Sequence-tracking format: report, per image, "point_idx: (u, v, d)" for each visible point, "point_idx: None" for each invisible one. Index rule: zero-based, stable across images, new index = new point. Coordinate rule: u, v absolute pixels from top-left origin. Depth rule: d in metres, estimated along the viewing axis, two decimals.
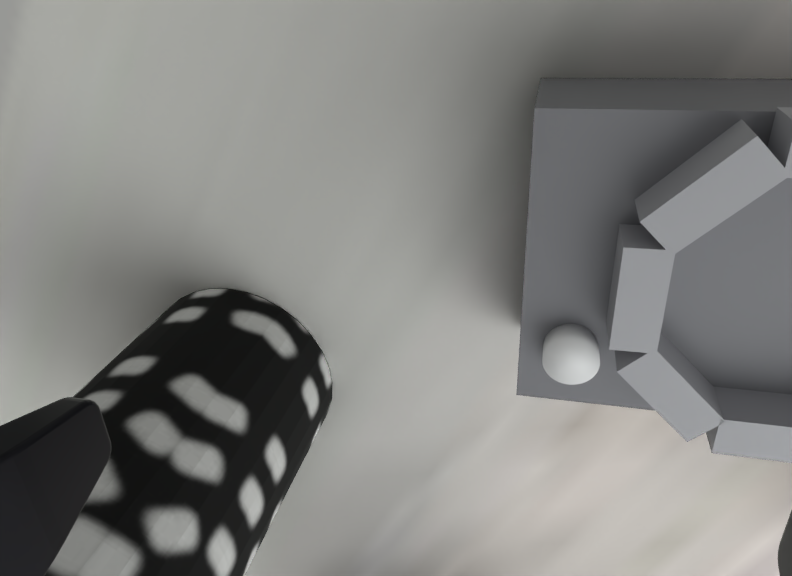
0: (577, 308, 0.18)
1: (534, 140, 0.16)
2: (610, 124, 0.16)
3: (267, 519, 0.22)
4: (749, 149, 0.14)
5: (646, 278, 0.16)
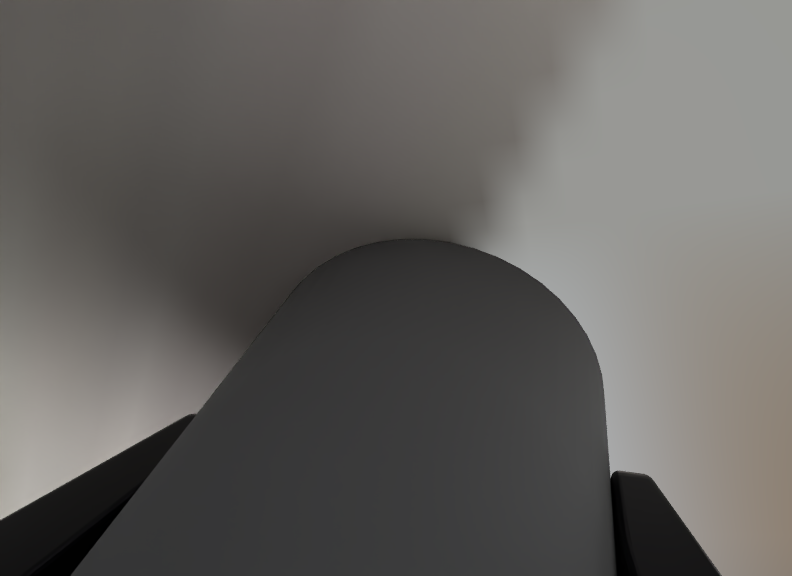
0: None
1: None
2: None
3: None
4: None
5: None
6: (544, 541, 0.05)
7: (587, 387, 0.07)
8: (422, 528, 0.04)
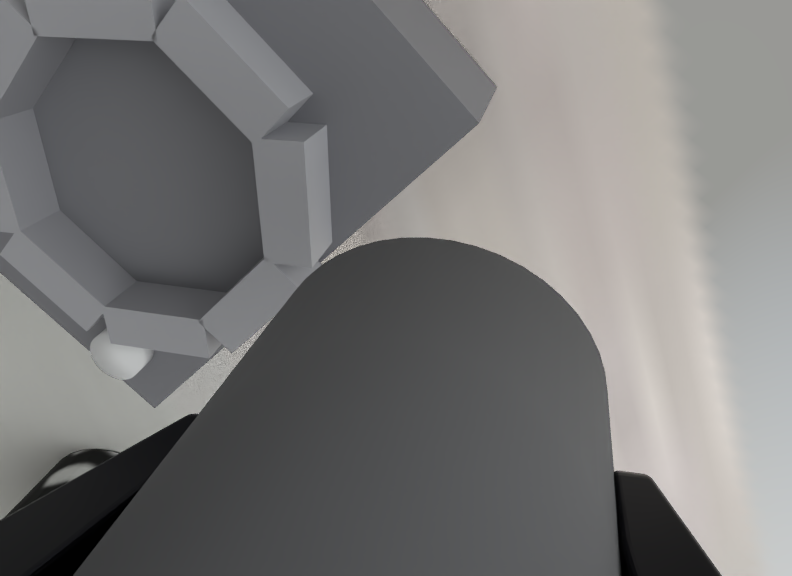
0: None
1: None
2: None
3: None
4: None
5: (33, 262, 0.17)
6: (548, 537, 0.05)
7: (591, 386, 0.07)
8: (426, 526, 0.04)
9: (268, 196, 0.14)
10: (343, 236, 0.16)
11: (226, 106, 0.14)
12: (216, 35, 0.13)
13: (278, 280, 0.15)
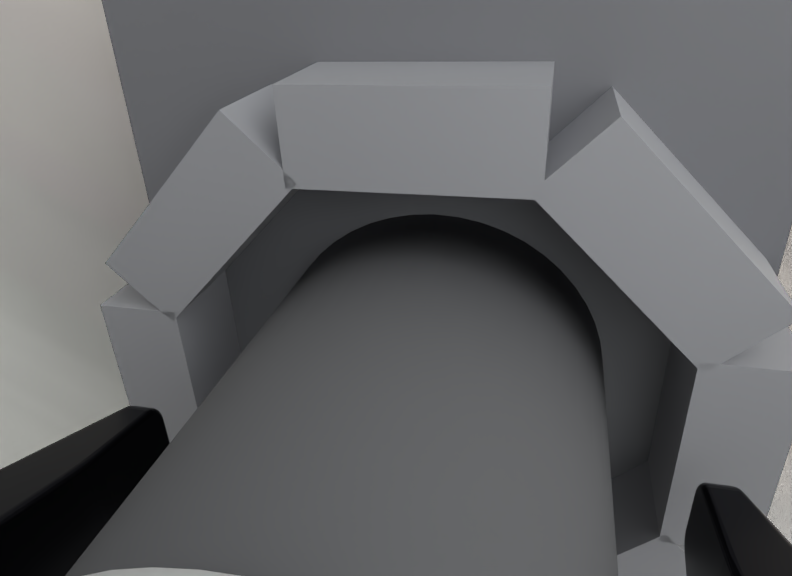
0: None
1: None
2: None
3: None
4: None
5: None
6: (547, 467, 0.06)
7: (587, 349, 0.08)
8: (439, 451, 0.05)
9: (628, 261, 0.07)
10: (779, 231, 0.08)
11: (454, 181, 0.07)
12: (360, 89, 0.07)
13: (752, 384, 0.07)
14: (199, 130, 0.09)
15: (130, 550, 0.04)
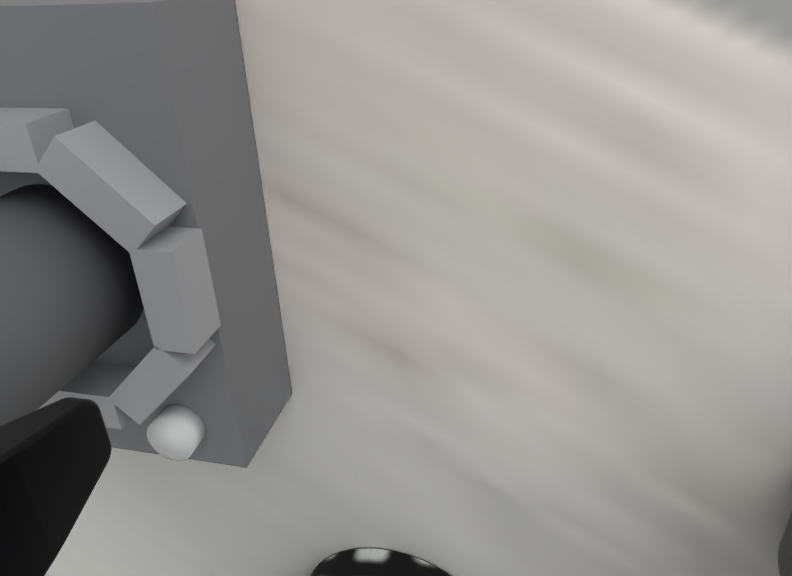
0: (145, 417, 0.21)
1: None
2: None
3: None
4: None
5: None
6: None
7: (91, 246, 0.16)
8: None
9: (82, 200, 0.16)
10: (186, 190, 0.16)
11: (5, 165, 0.16)
12: None
13: (152, 259, 0.16)
14: None
15: None
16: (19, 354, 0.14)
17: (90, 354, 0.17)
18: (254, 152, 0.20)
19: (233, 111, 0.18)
